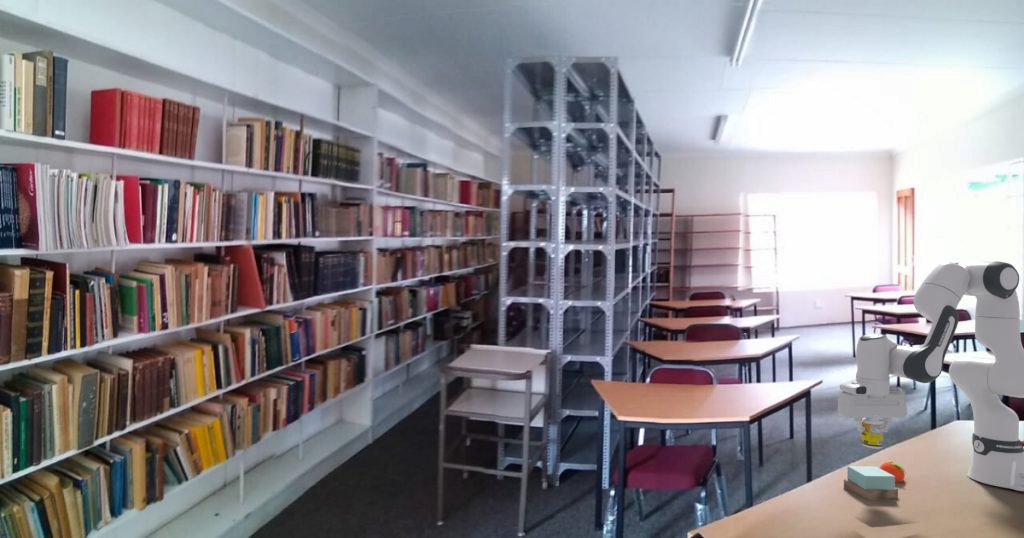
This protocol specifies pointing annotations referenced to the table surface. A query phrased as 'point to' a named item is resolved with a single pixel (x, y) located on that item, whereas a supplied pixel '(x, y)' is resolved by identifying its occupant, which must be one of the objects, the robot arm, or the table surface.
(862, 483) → the teal block
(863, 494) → the walnut block
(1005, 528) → the table surface
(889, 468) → the clementine
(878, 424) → the supplement bottle
